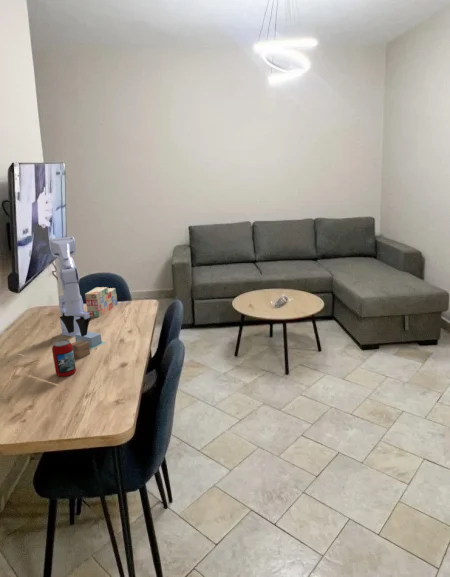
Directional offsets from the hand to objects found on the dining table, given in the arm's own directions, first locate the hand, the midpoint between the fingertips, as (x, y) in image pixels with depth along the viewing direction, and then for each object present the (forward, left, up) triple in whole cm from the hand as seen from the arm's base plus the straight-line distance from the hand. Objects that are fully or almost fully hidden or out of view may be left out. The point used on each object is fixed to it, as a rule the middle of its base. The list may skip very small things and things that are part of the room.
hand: (77, 333), depth 167 cm
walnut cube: (0, 0, -9) cm, 9 cm away
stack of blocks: (-38, +46, -10) cm, 61 cm away
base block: (-7, +10, -9) cm, 15 cm away
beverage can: (+8, -13, -10) cm, 18 cm away
